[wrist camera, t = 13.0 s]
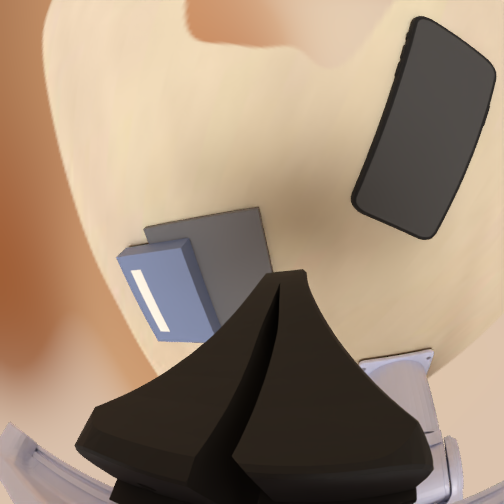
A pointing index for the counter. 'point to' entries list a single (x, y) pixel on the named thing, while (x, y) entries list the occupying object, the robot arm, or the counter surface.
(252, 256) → the mat
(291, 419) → the robot arm
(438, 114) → the smartphone
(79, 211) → the counter surface
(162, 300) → the block
